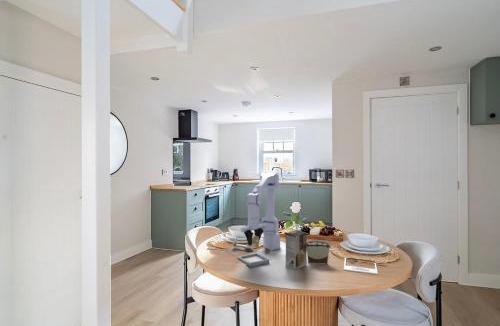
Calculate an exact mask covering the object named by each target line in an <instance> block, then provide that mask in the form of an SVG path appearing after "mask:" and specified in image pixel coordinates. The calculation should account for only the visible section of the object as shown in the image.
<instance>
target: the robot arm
mask: <svg viewBox="0 0 500 326" xmlns="http://www.w3.org/2000/svg"><path fill="white" fill-rule="evenodd" d="M279 184H280V176H279V173H278V172H263V171H262V172H261V173H260V174H259V183H258V184H256V185H255V186H254V187H253V189H252V190H251V192H250V193H248V194H247V195H246V198H245V202H246V208H247V225H245V226H243V227H240V232H241V233H243V234H244V236H245V239H246V241H247V244H248V245H250V246H251V245H252V236H253V235H256V236H259V242H260V239H261V237H263V239H262V240H263V243H262V245H263V246H262V247H263V248H264V249H268V250H270V251H274V250H280V249H282V247H281V236H280V233H279V230H280V224H279V223H280V222H279V219H278V218H277V217H276V216H275V203H276V191H277V188H278V187H279ZM265 188H266V189H265ZM265 192H266V206H265V208H266V209H265V216H264V217H262V218H261V222H260V205H261V204H262V199H263V195H264V194H265ZM252 231H253V232H252ZM262 235H263V236H262Z"/></svg>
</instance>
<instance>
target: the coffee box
mask: <svg viewBox="0 0 500 326" xmlns="http://www.w3.org/2000/svg"><path fill="white" fill-rule="evenodd" d="M307 242H308V241H307V232H305V231H302V230H293V231H290V232H286V233H285V267H287V268H289V269H292V270H295V271H296V270H298V269H301V268H303V267H305V266H306V265H307V263H308V256H307Z"/></svg>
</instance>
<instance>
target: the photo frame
mask: <svg viewBox="0 0 500 326" xmlns="http://www.w3.org/2000/svg"><path fill="white" fill-rule="evenodd" d="M343 263H344V264H343V271H346V272H353V273H354V272H355V273H362V274H363V273H364V274H369V273H370V274H371V275H377V274H379V272H378V267H377V262H376V263H374V262H373V265H374V264H375V265H374V268H369V267H368V268H367V267H362V266H361V267H360V266H352V265H347V258H345V257H344V261H343Z"/></svg>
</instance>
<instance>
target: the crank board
mask: <svg viewBox="0 0 500 326" xmlns="http://www.w3.org/2000/svg"><path fill="white" fill-rule="evenodd" d="M222 250H223V251H224V252H226V253H228V254H230V255H231V256H241V255H246V254H251V253H256V252H257V250H256V249H254V248H251V249H246V248H241V247H236V246H232V247H226V248H222Z"/></svg>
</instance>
